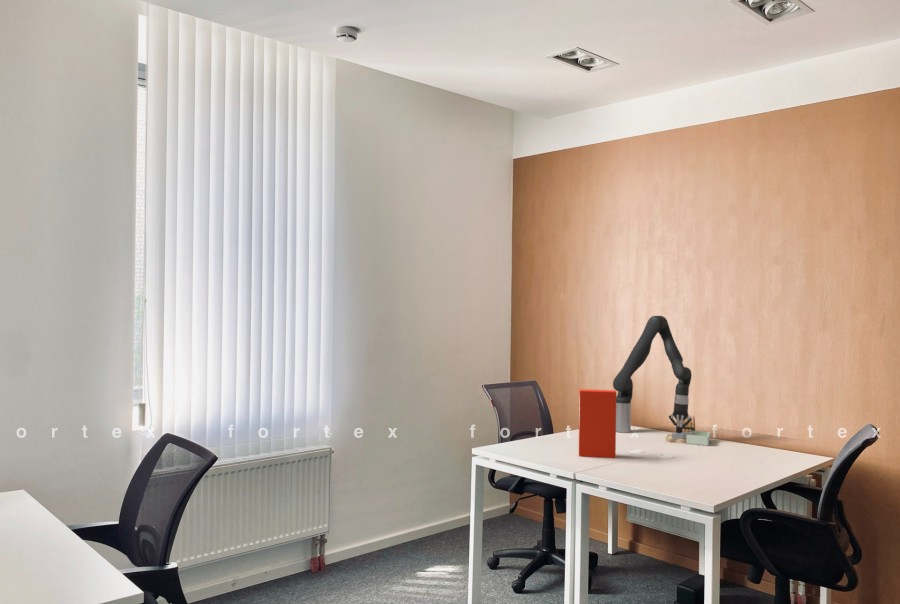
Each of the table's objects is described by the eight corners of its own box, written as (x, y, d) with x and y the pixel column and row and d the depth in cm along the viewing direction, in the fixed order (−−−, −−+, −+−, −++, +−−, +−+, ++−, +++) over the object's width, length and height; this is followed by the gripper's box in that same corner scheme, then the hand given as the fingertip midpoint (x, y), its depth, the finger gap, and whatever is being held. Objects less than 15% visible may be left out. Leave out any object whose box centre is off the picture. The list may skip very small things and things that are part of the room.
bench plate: (665, 441, 365) (665, 438, 365) (668, 437, 378) (668, 434, 378) (686, 443, 360) (686, 440, 360) (689, 439, 373) (689, 435, 373)
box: (686, 444, 359) (686, 434, 360) (689, 439, 374) (689, 430, 374) (708, 446, 355) (708, 436, 355) (710, 441, 369) (710, 432, 369)
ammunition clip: (695, 436, 385) (695, 415, 385) (695, 436, 383) (695, 415, 383) (676, 434, 389) (676, 414, 389) (675, 435, 387) (675, 414, 388)
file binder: (615, 458, 320) (616, 392, 321) (579, 456, 323) (580, 390, 324) (614, 454, 328) (614, 390, 329) (578, 453, 331) (579, 389, 332)
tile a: (681, 437, 369) (681, 432, 369) (682, 435, 374) (682, 431, 374) (692, 437, 366) (692, 433, 367) (693, 436, 371) (693, 431, 371)
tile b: (671, 438, 365) (671, 433, 365) (672, 436, 369) (672, 432, 369) (683, 439, 362) (683, 434, 362) (683, 437, 367) (683, 433, 367)
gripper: (668, 402, 371) (666, 432, 371) (693, 405, 366) (691, 436, 366) (669, 400, 378) (667, 430, 378) (694, 403, 372) (692, 434, 373)
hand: (679, 433), depth 372 cm, fingers closed
